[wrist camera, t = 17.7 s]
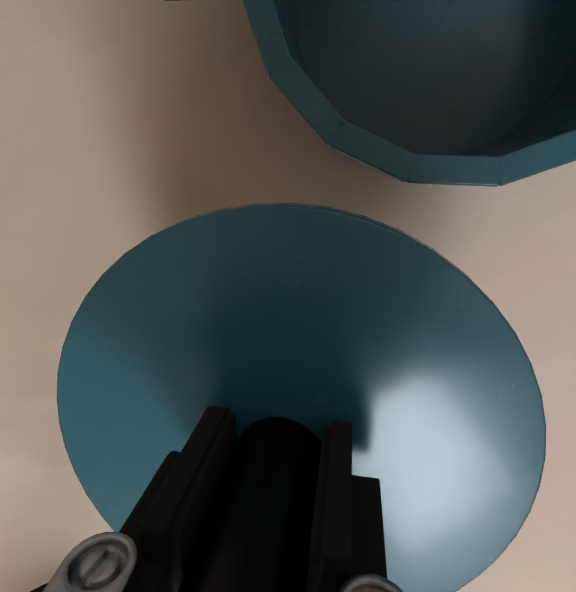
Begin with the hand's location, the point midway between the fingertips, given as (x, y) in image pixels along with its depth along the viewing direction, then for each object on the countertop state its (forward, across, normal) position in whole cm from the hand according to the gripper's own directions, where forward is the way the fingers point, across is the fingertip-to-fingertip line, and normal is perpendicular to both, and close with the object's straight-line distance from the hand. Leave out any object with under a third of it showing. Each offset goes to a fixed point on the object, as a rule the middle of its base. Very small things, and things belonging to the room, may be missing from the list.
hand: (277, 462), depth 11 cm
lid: (+1, 0, 0) cm, 1 cm away
